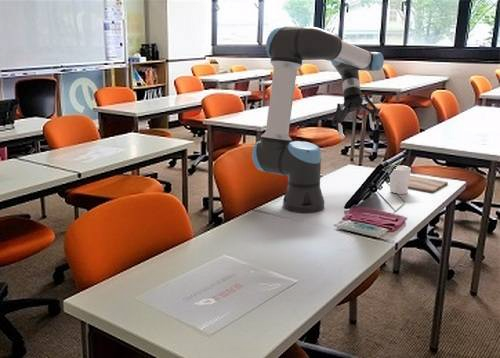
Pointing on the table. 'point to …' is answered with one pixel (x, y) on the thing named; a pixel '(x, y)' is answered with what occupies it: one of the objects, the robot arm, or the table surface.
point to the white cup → (400, 179)
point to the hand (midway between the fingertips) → (356, 133)
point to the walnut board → (425, 184)
